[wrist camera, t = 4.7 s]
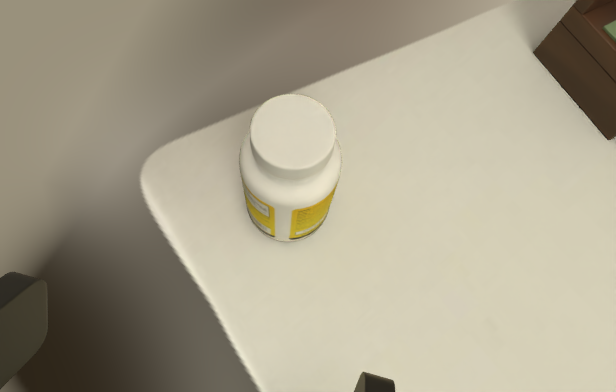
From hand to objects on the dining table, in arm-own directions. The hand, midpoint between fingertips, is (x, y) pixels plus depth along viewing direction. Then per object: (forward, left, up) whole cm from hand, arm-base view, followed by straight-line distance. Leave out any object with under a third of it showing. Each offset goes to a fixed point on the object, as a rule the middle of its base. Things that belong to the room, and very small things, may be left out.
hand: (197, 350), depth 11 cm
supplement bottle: (-4, +9, -16) cm, 19 cm away
